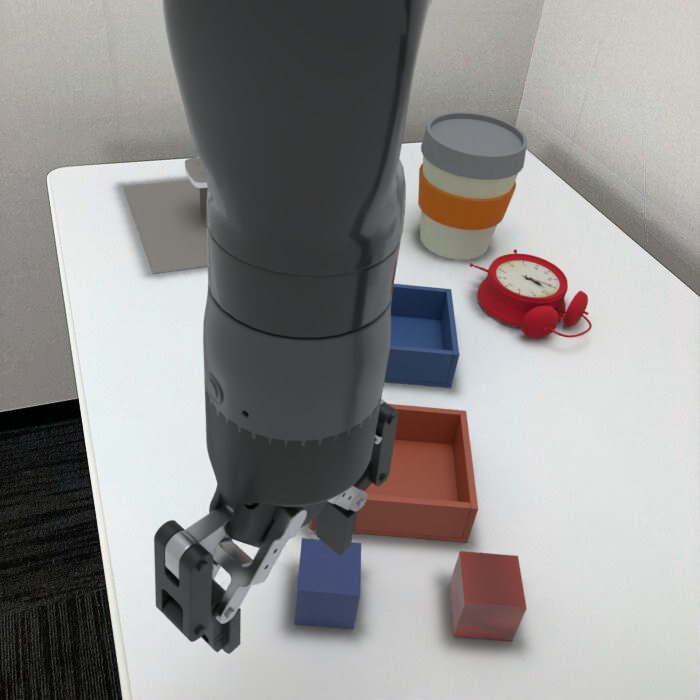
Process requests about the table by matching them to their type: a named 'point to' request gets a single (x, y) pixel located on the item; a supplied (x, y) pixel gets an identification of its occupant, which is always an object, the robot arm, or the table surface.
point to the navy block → (328, 585)
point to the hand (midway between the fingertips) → (280, 587)
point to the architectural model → (172, 220)
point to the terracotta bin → (424, 480)
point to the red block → (486, 596)
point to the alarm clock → (530, 295)
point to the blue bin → (422, 337)
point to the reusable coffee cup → (466, 181)
